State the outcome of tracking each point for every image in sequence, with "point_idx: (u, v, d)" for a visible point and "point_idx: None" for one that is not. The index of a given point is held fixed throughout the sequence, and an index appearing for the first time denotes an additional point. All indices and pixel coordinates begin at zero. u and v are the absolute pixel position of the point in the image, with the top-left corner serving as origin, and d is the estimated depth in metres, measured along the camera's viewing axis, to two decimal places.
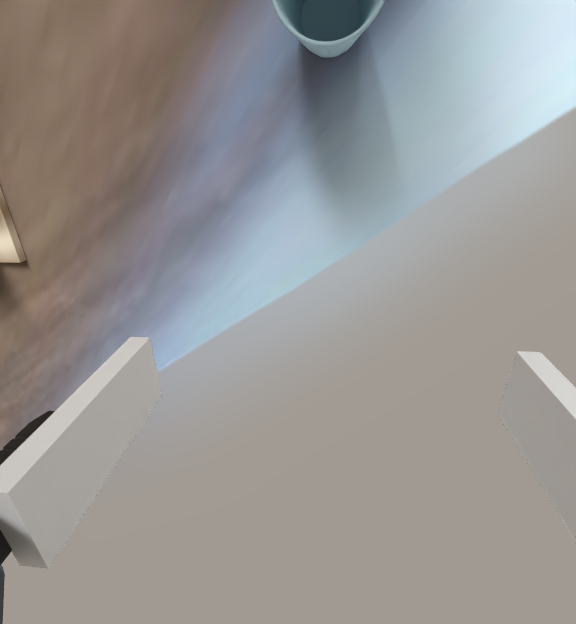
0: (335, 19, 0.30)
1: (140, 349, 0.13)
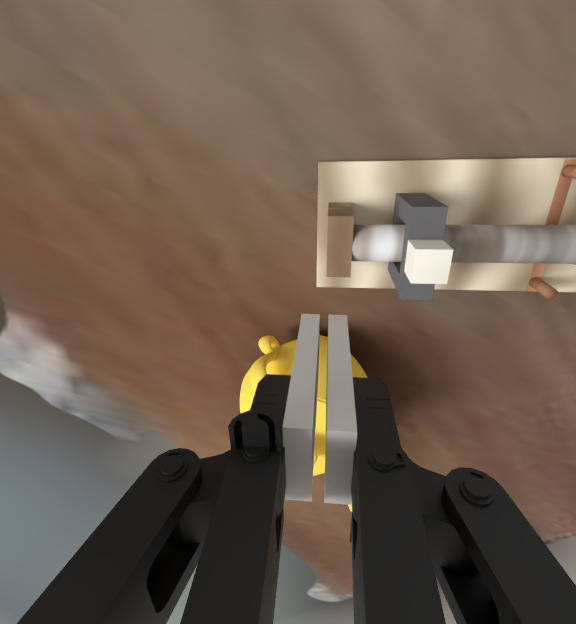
0: None
1: (319, 323, 0.14)
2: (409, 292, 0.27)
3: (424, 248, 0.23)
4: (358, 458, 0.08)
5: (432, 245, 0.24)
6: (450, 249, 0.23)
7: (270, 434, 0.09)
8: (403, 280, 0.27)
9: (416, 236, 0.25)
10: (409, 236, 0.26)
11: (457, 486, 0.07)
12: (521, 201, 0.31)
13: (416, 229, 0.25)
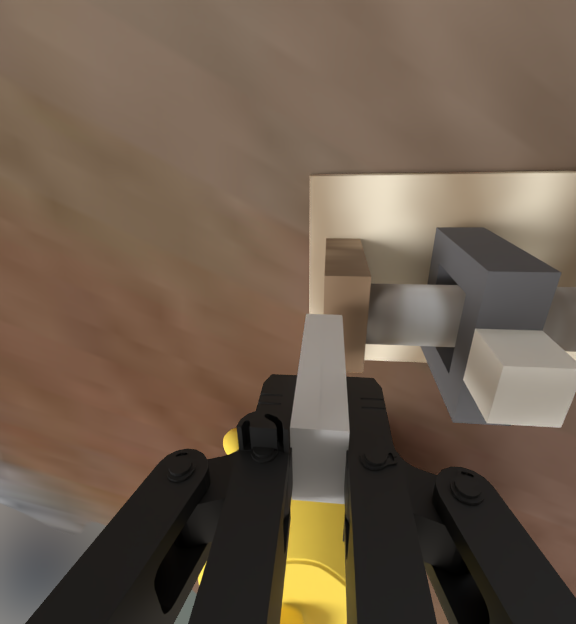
0: None
1: (323, 324, 0.14)
2: (469, 413, 0.15)
3: (522, 363, 0.11)
4: (350, 458, 0.08)
5: (532, 351, 0.12)
6: None
7: (278, 435, 0.09)
8: (460, 393, 0.15)
9: (492, 323, 0.13)
10: (478, 323, 0.13)
11: (448, 485, 0.07)
12: None
13: (493, 311, 0.13)
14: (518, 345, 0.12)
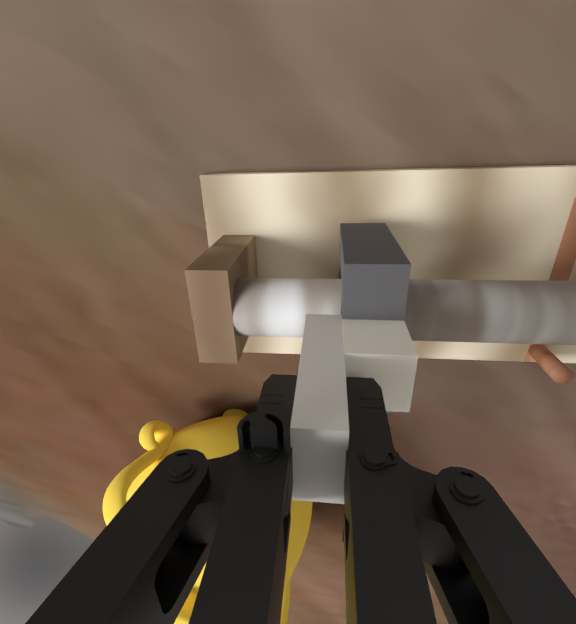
0: None
1: (324, 324, 0.14)
2: None
3: (363, 350, 0.12)
4: (350, 458, 0.08)
5: (380, 339, 0.13)
6: (412, 353, 0.12)
7: (278, 435, 0.09)
8: None
9: (357, 314, 0.14)
10: (344, 314, 0.14)
11: (447, 485, 0.07)
12: (515, 233, 0.20)
13: (355, 302, 0.14)
14: (371, 334, 0.13)
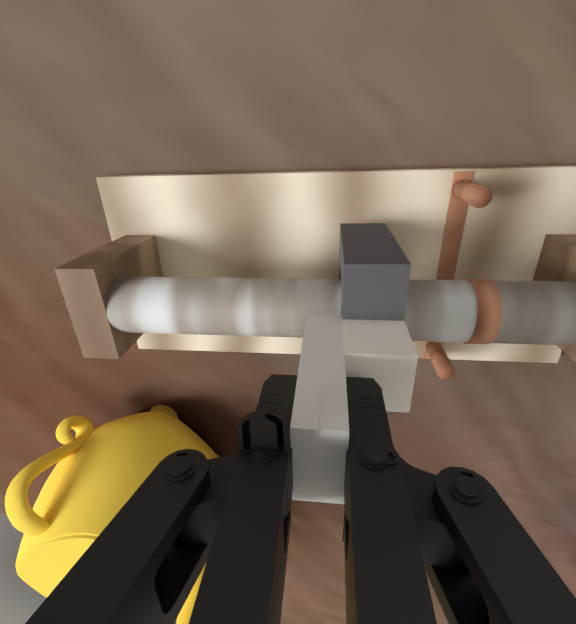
0: None
1: (324, 324, 0.14)
2: None
3: (363, 350, 0.12)
4: (350, 458, 0.08)
5: (380, 339, 0.13)
6: (412, 354, 0.12)
7: (278, 435, 0.09)
8: None
9: (357, 314, 0.14)
10: (344, 314, 0.14)
11: (447, 485, 0.07)
12: (398, 234, 0.21)
13: (355, 302, 0.14)
14: (371, 334, 0.13)
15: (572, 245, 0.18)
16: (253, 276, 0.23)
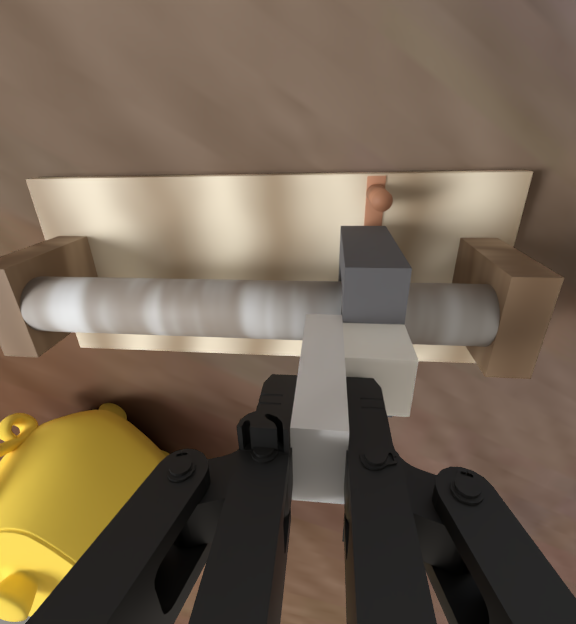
0: None
1: (324, 324, 0.14)
2: None
3: (363, 354, 0.12)
4: (350, 458, 0.08)
5: (381, 343, 0.13)
6: (412, 358, 0.12)
7: (278, 435, 0.09)
8: None
9: (357, 317, 0.14)
10: (344, 317, 0.14)
11: (447, 485, 0.07)
12: (320, 236, 0.21)
13: (355, 306, 0.14)
14: (371, 338, 0.13)
15: (477, 248, 0.18)
16: (184, 277, 0.23)
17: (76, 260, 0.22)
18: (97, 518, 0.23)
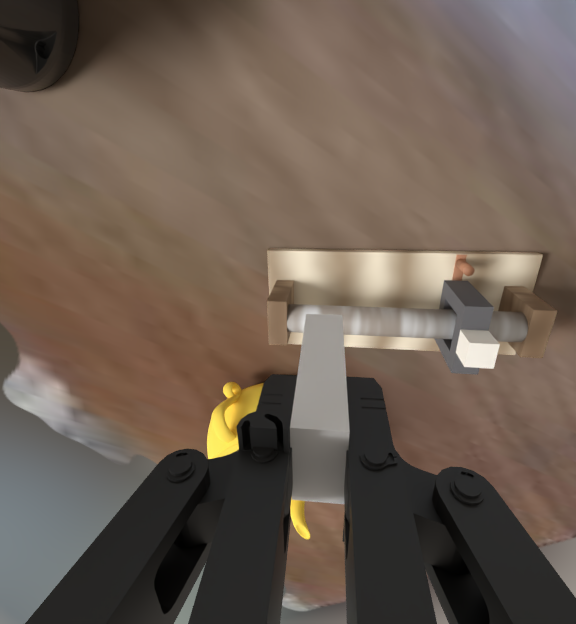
0: None
1: (324, 324, 0.14)
2: (458, 368, 0.34)
3: (476, 342, 0.30)
4: (350, 458, 0.08)
5: (481, 338, 0.31)
6: (497, 343, 0.30)
7: (278, 435, 0.09)
8: (454, 358, 0.34)
9: (467, 327, 0.32)
10: (461, 327, 0.32)
11: (448, 485, 0.07)
12: (427, 283, 0.40)
13: (467, 322, 0.32)
14: (476, 336, 0.31)
15: (514, 293, 0.36)
16: (345, 303, 0.42)
17: (292, 294, 0.41)
18: None
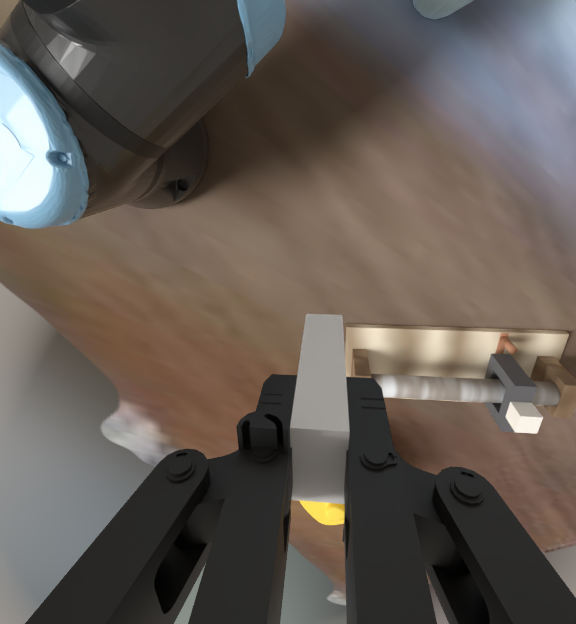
0: None
1: (323, 324, 0.14)
2: (506, 428, 0.44)
3: (525, 415, 0.40)
4: (350, 458, 0.08)
5: (528, 410, 0.41)
6: (540, 416, 0.40)
7: (278, 435, 0.09)
8: (504, 421, 0.44)
9: (515, 400, 0.42)
10: (511, 400, 0.42)
11: (448, 486, 0.07)
12: (475, 353, 0.50)
13: (516, 396, 0.42)
14: (524, 408, 0.41)
15: (547, 365, 0.47)
16: (408, 366, 0.52)
17: None
18: None
